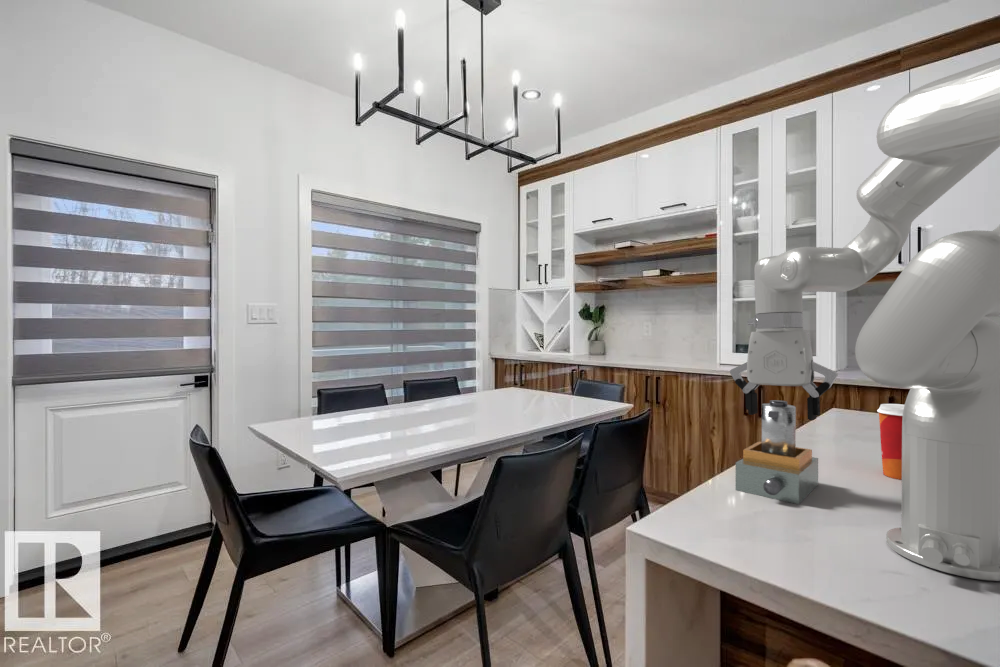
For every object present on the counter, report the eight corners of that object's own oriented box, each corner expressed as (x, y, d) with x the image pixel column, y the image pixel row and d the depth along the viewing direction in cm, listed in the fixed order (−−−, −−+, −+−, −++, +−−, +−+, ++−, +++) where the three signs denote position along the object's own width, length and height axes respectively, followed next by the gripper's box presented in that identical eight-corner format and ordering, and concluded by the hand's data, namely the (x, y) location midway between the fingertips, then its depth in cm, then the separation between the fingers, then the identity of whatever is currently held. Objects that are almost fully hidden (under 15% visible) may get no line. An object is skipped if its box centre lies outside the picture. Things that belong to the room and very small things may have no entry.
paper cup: (907, 471, 97) (907, 403, 97) (938, 483, 89) (938, 409, 89) (866, 470, 97) (867, 402, 97) (893, 482, 90) (894, 409, 90)
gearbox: (794, 508, 77) (794, 465, 77) (730, 493, 84) (730, 454, 84) (818, 484, 89) (818, 447, 89) (760, 472, 96) (760, 438, 96)
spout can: (789, 466, 83) (789, 405, 83) (755, 460, 86) (755, 402, 86) (798, 459, 87) (799, 401, 87) (766, 453, 91) (766, 398, 91)
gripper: (722, 325, 90) (724, 414, 90) (830, 321, 78) (834, 424, 78) (736, 325, 96) (738, 410, 95) (840, 322, 83) (843, 419, 83)
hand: (781, 416), depth 86 cm, fingers open, 9 cm apart
